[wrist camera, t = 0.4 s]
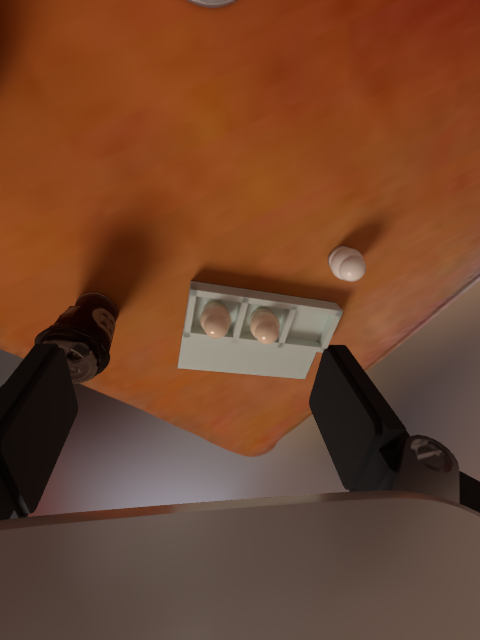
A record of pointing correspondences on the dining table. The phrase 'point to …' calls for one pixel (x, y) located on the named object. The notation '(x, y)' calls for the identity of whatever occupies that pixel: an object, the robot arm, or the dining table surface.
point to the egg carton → (239, 343)
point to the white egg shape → (346, 263)
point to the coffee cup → (84, 335)
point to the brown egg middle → (264, 325)
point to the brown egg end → (215, 319)
